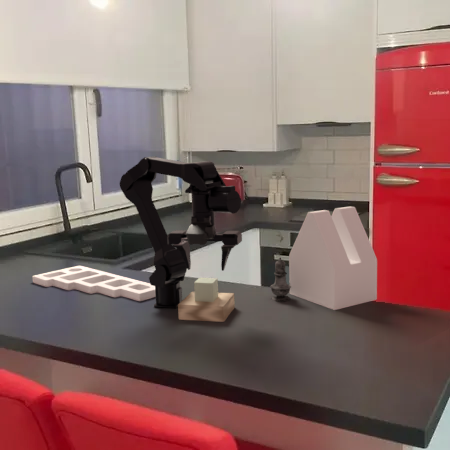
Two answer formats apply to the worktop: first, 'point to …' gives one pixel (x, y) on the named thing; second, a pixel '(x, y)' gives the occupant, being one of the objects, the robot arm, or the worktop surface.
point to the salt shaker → (280, 283)
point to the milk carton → (333, 260)
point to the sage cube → (206, 289)
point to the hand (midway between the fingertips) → (205, 269)
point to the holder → (96, 283)
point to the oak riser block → (206, 308)
